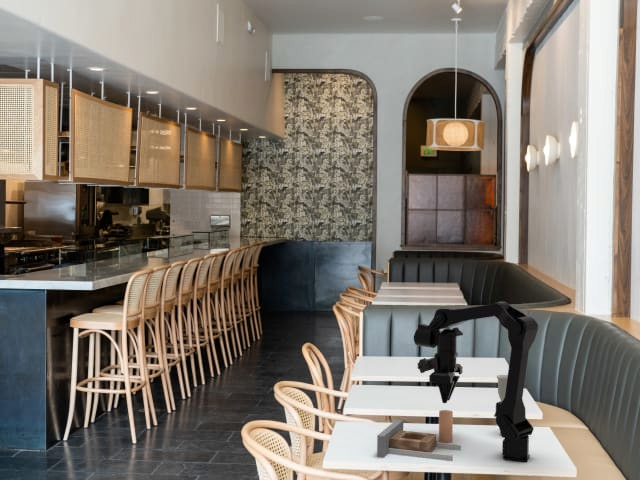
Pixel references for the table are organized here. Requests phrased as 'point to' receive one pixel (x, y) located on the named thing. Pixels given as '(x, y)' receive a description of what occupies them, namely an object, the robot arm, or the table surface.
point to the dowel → (445, 426)
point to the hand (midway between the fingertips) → (446, 401)
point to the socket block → (413, 441)
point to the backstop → (385, 449)
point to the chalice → (502, 387)
